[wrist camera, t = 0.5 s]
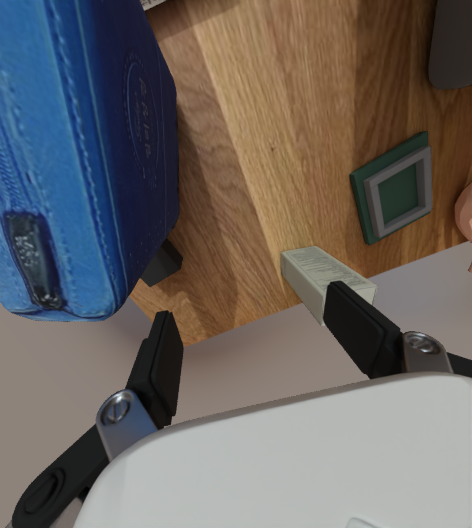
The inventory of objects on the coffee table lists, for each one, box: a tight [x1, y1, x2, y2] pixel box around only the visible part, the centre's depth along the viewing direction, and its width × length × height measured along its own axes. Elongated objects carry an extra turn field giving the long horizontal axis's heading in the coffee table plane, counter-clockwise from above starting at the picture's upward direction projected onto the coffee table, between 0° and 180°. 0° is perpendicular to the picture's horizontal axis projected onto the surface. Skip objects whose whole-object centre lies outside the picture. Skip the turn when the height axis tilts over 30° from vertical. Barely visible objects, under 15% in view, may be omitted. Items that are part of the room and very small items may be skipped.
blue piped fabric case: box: [0, 0, 179, 322], centre depth 14 cm, size 14×5×20 cm, turn 174°
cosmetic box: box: [281, 246, 378, 326], centre depth 26 cm, size 6×4×12 cm
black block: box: [140, 238, 183, 287], centre depth 26 cm, size 6×5×4 cm
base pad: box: [350, 131, 432, 245], centre depth 27 cm, size 12×10×2 cm
